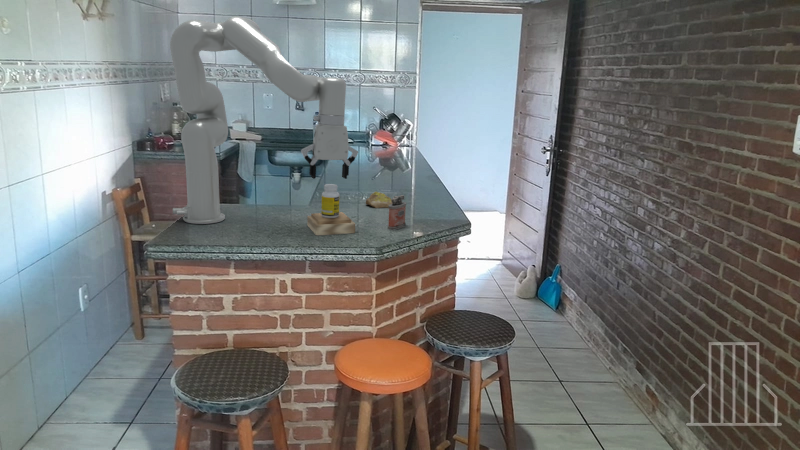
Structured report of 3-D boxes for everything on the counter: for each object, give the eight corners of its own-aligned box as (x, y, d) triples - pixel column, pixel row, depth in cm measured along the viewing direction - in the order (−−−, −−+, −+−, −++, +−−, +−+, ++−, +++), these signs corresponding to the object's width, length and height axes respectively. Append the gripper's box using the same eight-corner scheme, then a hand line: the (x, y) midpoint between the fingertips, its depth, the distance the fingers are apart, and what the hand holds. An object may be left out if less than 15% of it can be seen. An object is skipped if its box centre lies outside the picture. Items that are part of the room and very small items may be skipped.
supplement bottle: (336, 219, 180) (336, 187, 177) (318, 217, 181) (319, 186, 178) (341, 215, 185) (341, 184, 182) (324, 213, 186) (324, 182, 183)
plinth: (316, 235, 176) (316, 222, 175) (307, 225, 187) (307, 213, 186) (355, 233, 180) (355, 220, 179) (344, 223, 191) (344, 211, 190)
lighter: (394, 230, 185) (395, 199, 183) (385, 228, 187) (386, 197, 184) (407, 225, 192) (409, 195, 189) (398, 223, 194) (400, 193, 191)
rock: (367, 208, 224) (358, 201, 215) (374, 191, 225) (365, 183, 216) (396, 218, 220) (388, 212, 211) (403, 201, 221) (395, 194, 211)
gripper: (305, 121, 169) (303, 180, 173) (363, 123, 175) (360, 180, 179) (299, 118, 176) (298, 175, 180) (355, 120, 182) (352, 175, 186)
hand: (328, 177), depth 180 cm, fingers open, 9 cm apart
